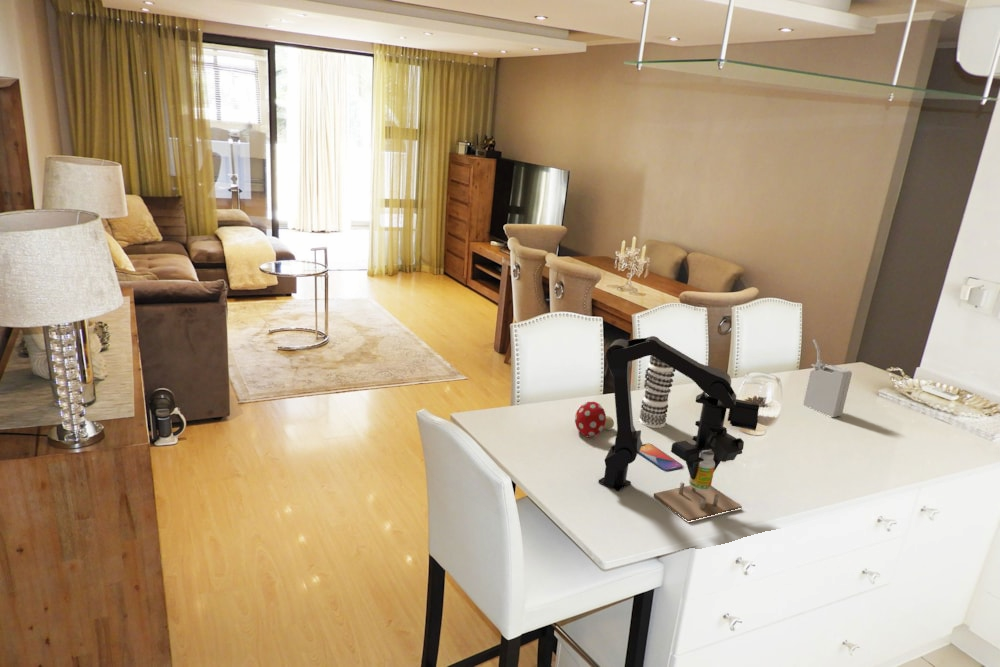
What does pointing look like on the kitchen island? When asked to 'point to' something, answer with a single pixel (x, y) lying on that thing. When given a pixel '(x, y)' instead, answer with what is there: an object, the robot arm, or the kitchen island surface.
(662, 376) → the decorative candle
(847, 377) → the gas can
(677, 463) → the smartphone
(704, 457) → the supplement bottle
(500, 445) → the kitchen island surface
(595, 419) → the decorative mushroom
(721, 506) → the pin tray
